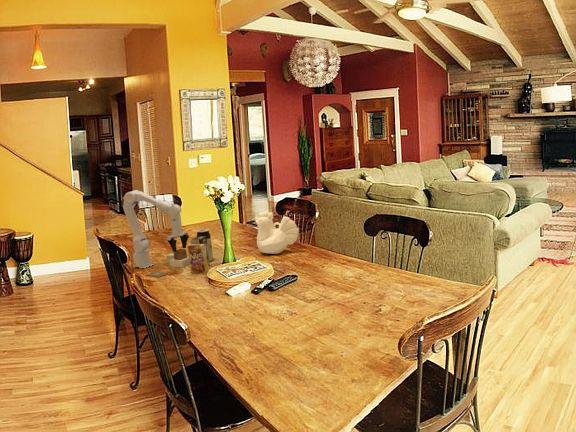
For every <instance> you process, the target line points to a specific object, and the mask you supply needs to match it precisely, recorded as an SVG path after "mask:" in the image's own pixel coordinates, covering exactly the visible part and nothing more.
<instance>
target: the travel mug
mask: <svg viewBox="0 0 576 432" xmlns="http://www.w3.org/2000/svg"><path fill="white" fill-rule="evenodd" d="M196 233H197V234H196V236H195V237H199V236H206V238H207V247H208V255H209V262H211V261H213V260H214V256H213V247H212V246H213V245H212V237H211V233H210V228H201V229H200V228H199V229H197V230H196Z"/></svg>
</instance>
